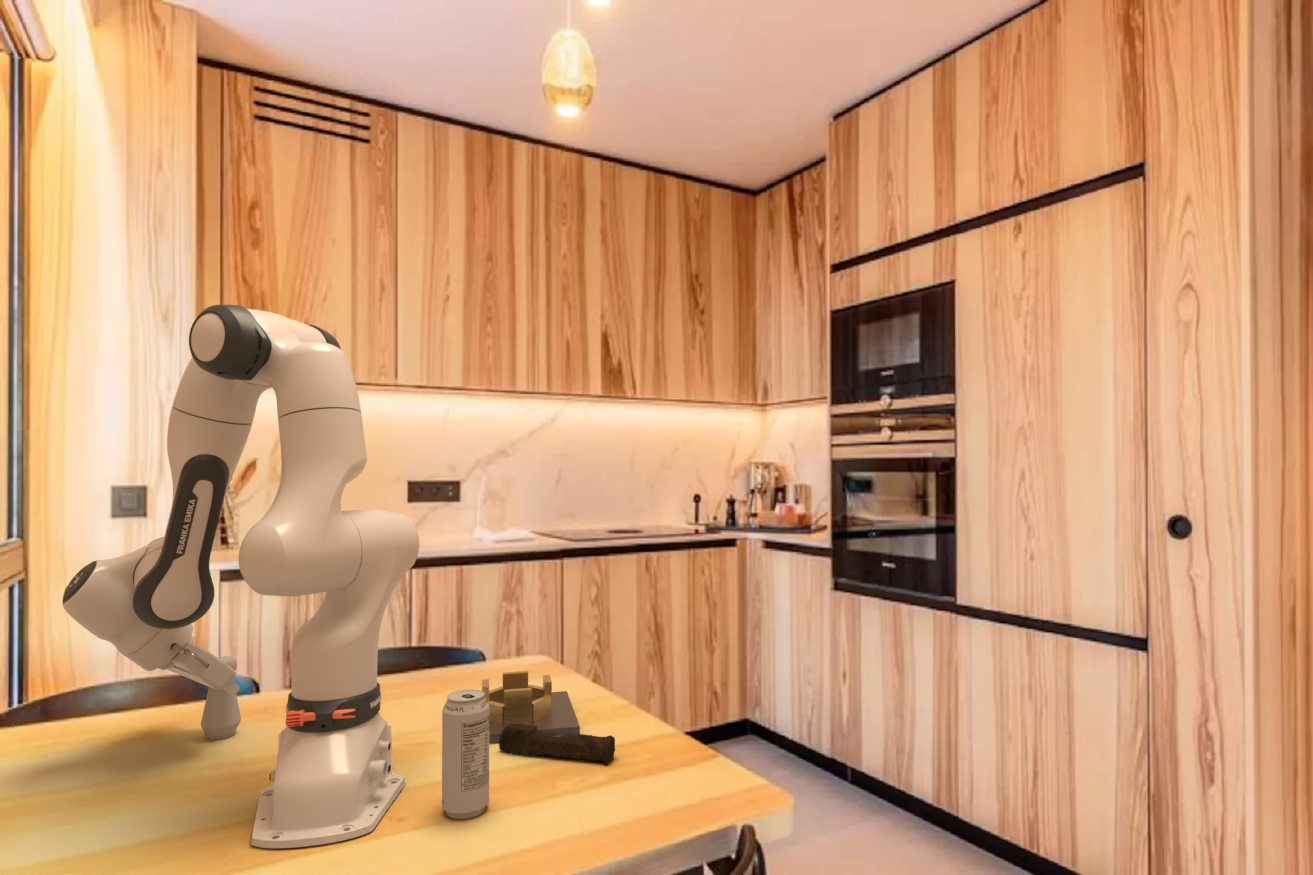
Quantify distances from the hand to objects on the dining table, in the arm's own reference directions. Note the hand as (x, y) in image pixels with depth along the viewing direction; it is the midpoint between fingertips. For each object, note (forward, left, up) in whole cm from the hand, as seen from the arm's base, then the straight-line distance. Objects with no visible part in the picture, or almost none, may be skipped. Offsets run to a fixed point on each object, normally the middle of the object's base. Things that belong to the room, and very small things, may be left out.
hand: (225, 688), depth 126 cm
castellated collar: (-5, -49, -8) cm, 49 cm away
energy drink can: (-38, -41, -8) cm, 56 cm away
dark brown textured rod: (-24, -54, -8) cm, 59 cm away
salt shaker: (0, 0, -8) cm, 8 cm away
